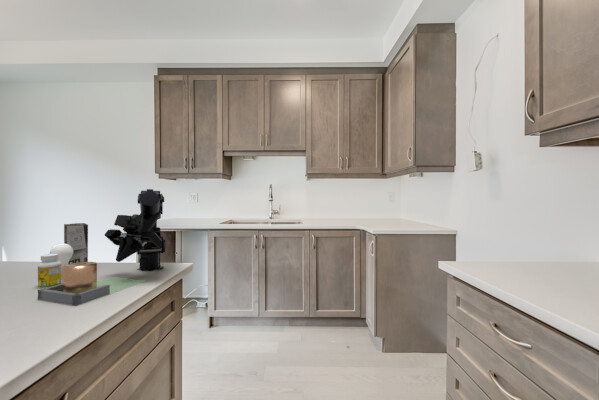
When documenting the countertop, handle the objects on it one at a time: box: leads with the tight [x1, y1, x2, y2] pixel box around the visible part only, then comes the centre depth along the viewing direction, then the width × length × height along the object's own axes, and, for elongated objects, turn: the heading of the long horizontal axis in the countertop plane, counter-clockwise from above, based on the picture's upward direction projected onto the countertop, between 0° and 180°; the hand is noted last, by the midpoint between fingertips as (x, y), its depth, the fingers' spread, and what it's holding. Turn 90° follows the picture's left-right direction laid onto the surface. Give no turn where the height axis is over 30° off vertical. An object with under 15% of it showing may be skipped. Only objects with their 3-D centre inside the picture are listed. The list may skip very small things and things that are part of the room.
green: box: [37, 276, 147, 307], centre depth 86 cm, size 22×14×1 cm, turn 163°
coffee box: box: [63, 222, 89, 264], centre depth 111 cm, size 9×6×16 cm
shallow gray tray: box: [37, 284, 111, 307], centre depth 80 cm, size 9×13×2 cm
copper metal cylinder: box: [62, 261, 98, 294], centre depth 81 cm, size 8×8×8 cm
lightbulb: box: [49, 242, 73, 276], centre depth 100 cm, size 6×6×11 cm
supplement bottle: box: [37, 253, 62, 289], centre depth 89 cm, size 5×5×10 cm
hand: (117, 261), depth 92 cm, fingers closed
